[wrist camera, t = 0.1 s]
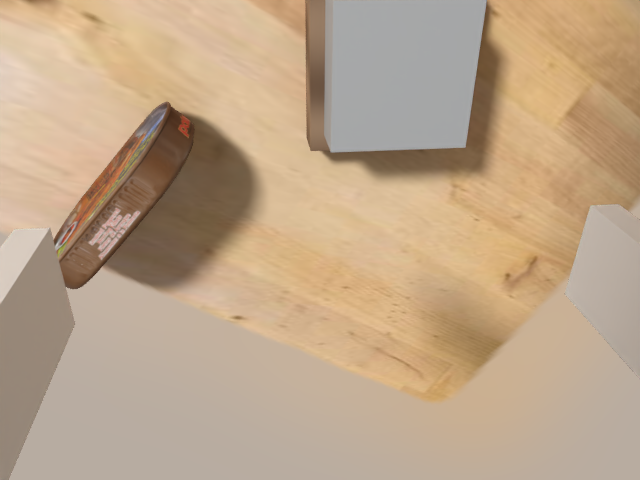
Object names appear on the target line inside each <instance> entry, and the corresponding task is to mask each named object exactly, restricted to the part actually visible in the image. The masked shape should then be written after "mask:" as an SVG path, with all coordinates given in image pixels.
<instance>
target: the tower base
mask: <svg viewBox="0 0 640 480" xmlns="http://www.w3.org/2000/svg"><path fill="white" fill-rule="evenodd" d="M305 6H306V117H307V140H308V143H309V147H310V150H311V151H320V150H330V149H329V146H328V144H327V141H326V139H325V136H324V99H325V0H305Z"/></svg>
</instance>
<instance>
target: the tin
mask: <svg viewBox="0 0 640 480" xmlns="http://www.w3.org/2000/svg"><path fill="white" fill-rule="evenodd" d="M193 135H194V124H193V123H192V122H191V121H190V120H188V119H187V118H186V117H185V116H183V115H182V114H181V113H179V112H178V111H176V110H175V109H174V108H173V107H171V105H170V103H169V102H164V103H162V104H161V105H159V106H158V107H157V108H155V109H154V110H153V111H152V112H151V113H150V114H149V116H148V117H147V118H146V119H145V120H144V121H143V123H142V124H141V125H140V126H139V127H138V128H137V130H136V131H135V132H134V133H133V135H132V136H131V137H130V138H129V139H128V141H127V142H126V143H125V145H124V146H123V147H122V148H121V150H120V151H119V152H118V153H117V155H116V156H115V157H114V158H113V160H112V161H111V162H110V163H109V165H108V166H107V167H106V168H105V170H104V171H103V172H102V173H101V175H100V176H99V177H98V178H97V179H96V181H95V182H94V183H93V184H92V186H91V187H90V188H89V190H88V191H87V192H86V193H85V195H84V196H83V197H82V198H81V200H80V201H79V202H78V204H77V205H76V206H75V208H74V209H73V211H72V212H71V213H70V215H69V216H68V218H67V219H66V221H65V222H64V224H63V225H62V227H61V228H60V230H59V232H58V233H57V235H56V237H55V238H54V240H53V241H54V245H55V249H56V253H57V256H58V260H59V264H60V268H61V272H62V275H63V279H64V283H65V287H67V288H70V289H78V288H80V287H82V286H83V285H84V284H86V283H87V282H88V281H89V280H90V279H91V278H92V277H93V276H94V275H95V274H96V273H97V272H98V271H99V270H100V268H101V267H102V266H103V265H104V264H105V263H106V262H107V260H108V259H109V258H110V257H111V256H112V255H113V254H114V252H115V251H116V250H117V249H118V248H119V247H120V246H121V244H122V243H123V242H124V241H125V240H126V239H127V237H128V236H129V235H130V234H131V233H132V231H133V230H134V229H135V228H136V227H137V226H138V224H139V223H140V222H141V221H142V220H143V218H144V217H145V216H146V215H147V214H148V213H149V211H150V210H151V209H152V208H153V207H154V205H155V204H156V203H157V202H158V201H159V199H160V198H161V197H162V196H163V194H164V193H165V192H166V190H167V189H168V188H169V186H170V185H171V184H172V182H173V181H174V179H175V178H176V176H177V175H178V173H179V172H180V170H181V168H182V166H183V165H184V163H185V161H186V159H187V157H188V155H189V153H190V151H191V148H192V145H193Z"/></svg>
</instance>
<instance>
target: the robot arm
mask: <svg viewBox="0 0 640 480" xmlns="http://www.w3.org/2000/svg"><path fill="white" fill-rule="evenodd" d="M565 295H566V296H567V297H568V298H569V299H570V301H571V302H572V303H573V304H574V305H575V306H576V307H577V309H578V310H579V311H580V312H581V313H582V314H583V315H584V317H585V318H586V319H587V320H588V321H589V322H590V323H591V324H592V326H593V327H594V328H595V329H596V330H597V331H598V332H599V334H600V335H601V336H602V337H603V338H604V339H605V340H606V341H607V343H608V344H609V345H610V346H611V347H612V348H613V349H614V350H615V352H616V353H617V354H618V355H619V356H620V357H621V358H622V359H623V361H624V362H625V363H626V364H627V365H628V366H629V367H630V369H631V370H632V371H633V372H634V373H635V374H636V375H637V377H638V378H639V379H640V219H638V218H637V217H635V216H634V215H633V214H631V213H630V212H629V211H627V210H626V209H625V208H623V207H622V206H620V205H619V204H610V205H591V206H590V209H589V213H588V216H587V219H586V223H585V226H584V230H583V233H582V236H581V240H580V243H579V247H578V250H577V254H576V257H575V260H574V264H573V267H572V271H571V274H570V278H569V281H568V284H567V288H566V291H565ZM74 325H75V321H74V318H73V314H72V311H71V306H70V302H69V299H68V295H67V291H66V287H65V283H64V279H63V275H62V272H61V268H60V264H59V260H58V256H57V253H56V249H55V245H54V241H53V237H52V233H51V230H50V228H31V229H14V230H13V232H12V233H11V234H10V236H9V237H8V238H7V240H6V241H5V242H4V243H3V245H2V246H1V247H0V480H9V477H10V475H11V473H12V471H13V468H14V466H15V464H16V461H17V459H18V457H19V454H20V452H21V449H22V447H23V445H24V442H25V440H26V437H27V435H28V433H29V431H30V428H31V426H32V424H33V421H34V419H35V417H36V414H37V412H38V410H39V407H40V405H41V403H42V400H43V398H44V396H45V393H46V391H47V389H48V386H49V384H50V382H51V379H52V377H53V374H54V372H55V370H56V368H57V365H58V363H59V361H60V358H61V356H62V353H63V351H64V349H65V346H66V344H67V342H68V339H69V337H70V334H71V332H72V330H73V328H74Z"/></svg>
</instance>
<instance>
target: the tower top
mask: <svg viewBox="0 0 640 480" xmlns="http://www.w3.org/2000/svg"><path fill="white" fill-rule="evenodd" d="M486 2H487V0H325V99H324V136H325V139H326V141H327V144H328V146H329V149H330V152H357V151H385V150H412V149H440V148H466V141H467V134H468V127H469V120H470V113H471V106H472V99H473V92H474V85H475V78H476V72H477V65H478V58H479V51H480V44H481V37H482V30H483V23H484V16H485V9H486Z"/></svg>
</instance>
